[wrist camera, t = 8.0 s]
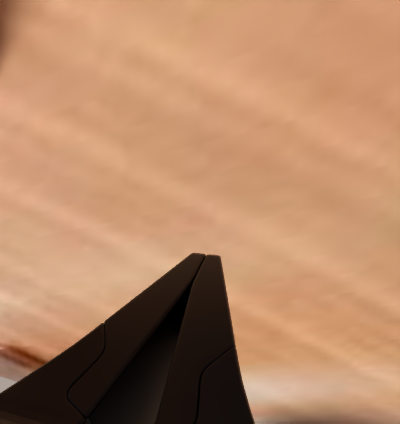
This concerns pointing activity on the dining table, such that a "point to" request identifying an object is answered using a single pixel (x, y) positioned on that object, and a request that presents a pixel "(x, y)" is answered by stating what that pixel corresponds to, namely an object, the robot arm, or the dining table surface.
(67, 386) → the robot arm
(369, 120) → the dining table surface
